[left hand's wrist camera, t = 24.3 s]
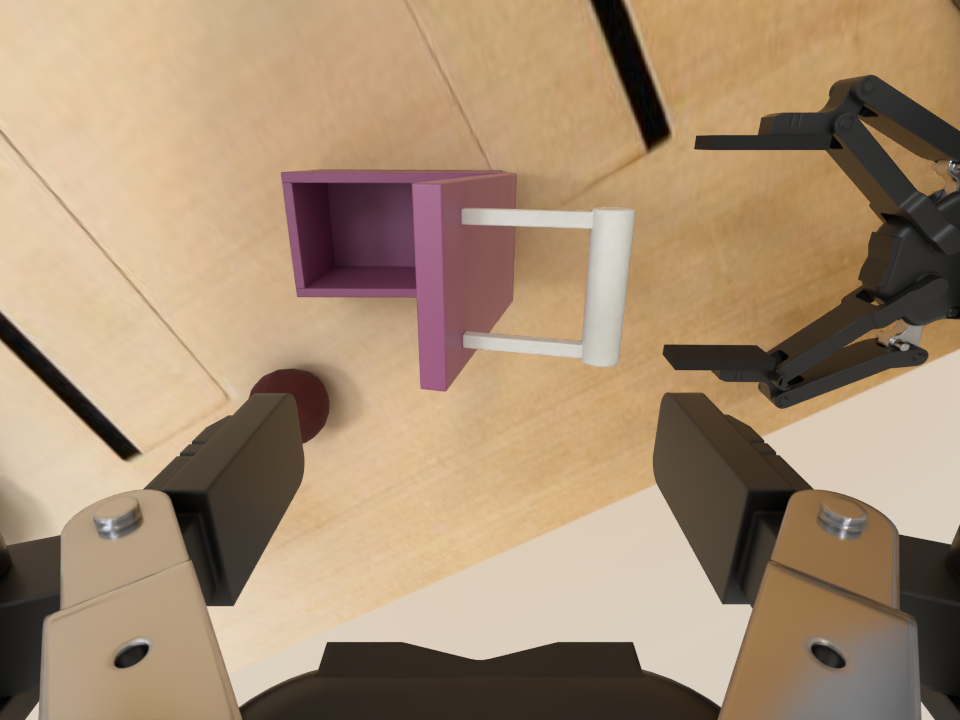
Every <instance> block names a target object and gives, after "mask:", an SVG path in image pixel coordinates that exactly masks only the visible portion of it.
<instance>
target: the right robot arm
mask: <svg viewBox="0 0 960 720" xmlns="http://www.w3.org/2000/svg"><path fill="white" fill-rule="evenodd" d="M954 2H955V3H956V4H957V6H958V7H959V8H960V0H954ZM829 97H830V99H829V101H828V102H827V104H826V105H825V107H824V108H823V109H822V110H821V111H819V112H817V113H775V114H769V115H767V116H765V117H762V118H761V122H760V128H759V133H758V135H707V136H696V141H695V148H694V149H702V150H826V151H827V152H828V153H829V155H830V156H831V157H832V158H833V159H834V160H835V162H836V163H837V164H838V165H839V166H840V167H841V169H842V170H843V171H844V172H845V173H846V174H847V176H848V177H849V178H850V179H851V180H852V181H853V183H854V184H855V185H856V186H857V187H858V188H859V190H860V191H861V192H862V193H863V194H864V195H865V197H866V198H867V199H868V200H869V201H870V205H869V206H870V208H871V209H872V210H873V211H874V212H875V214H876V215H877V216H878V217H879V218H880V219H881V221H882V222H883V224H882V225H881V227H880V228H879V229H878V231H877V232H872V234H871V237H870V241H869V247H868V257H867V259H866V261H865V263H864V264H863V266H862V268H861V271H860V274H859V278H858V280H861V281H862V286H860V287H859V288H857V289H856V290H854V291H853V292H851V293H850V294H848V295H847V296H845V297H844V298H843V299H842V300H841V304H840V305H839V306H837V307H836V308H834V309H833V310H831V311H830V312H828V313H827V314H825V315H824V316H822V317H820V318H819V319H817V320H816V321H814V322H813V323H811V324H810V325H808V326H807V327H805V328H803V329H802V330H800V331H799V332H797V333H796V334H794V335H793V336H791V337H790V338H788V339H786V340H785V341H783V342H782V343H780V344H779V345H777V346H776V347H774V348H772V349H771V350H769V351H768V352H765V351H763V350H762V349H761V348H759V347H758V346H757V345H664V349H663V355H664V357H665V358H666V359H667V360H668V362H669V363H670V364H671V365H672V367H673V368H674V369H675V370H711V371H712V372H713V373H714V374H715V375H716V376H717V377H718V378H719V379H721V380H723V381H726V382H734V381H735V382H760V383H759V385H758V389H759V391H760V392H761V393H762V394H764V395H765V396H766V397H767V398H768V399H769V400H770V401H771V402H772V403H773V404H774V405H775V406H776V407H778V408H781V409H783V408H787V407H790V406H792V405H795V404H798V403H800V402H803V401H806V400H808V399H811V398H813V397H816V396H819V395H821V394H824V393H827V392H829V391H832V390H835V389H837V388H840V387H842V386H845V385H848V384H850V383H853V382H856V381H858V380H861V379H863V378H866V377H869V376H871V375H874V374H877V373H879V372H882V371H885V370H887V369H890V368H899V367H910V366H918V365H921V364H923V363H924V362H925V361H926V360H927V358H928V352H927V351H926V350H924V349H922V348H920V347H919V343H920V338H921V334H922V330H923V326H924V325H927V324H929V323H932V322H934V321H937V320H940V319H960V131H959V130H957V129H956V128H954V127H953V126H951V125H950V124H948V123H947V122H945V121H943V120H942V119H940V118H939V117H937V116H936V115H934V114H933V113H931V112H930V111H928V110H927V109H925V108H924V107H922V106H921V105H919V104H918V103H916V102H915V101H913V100H911V99H910V98H908V97H907V96H905V95H904V94H902V93H901V92H899V91H898V90H896V89H895V88H893V87H892V86H890V85H889V84H887V83H886V82H884V81H883V80H881V79H879V78H878V77H876V76H874V75H868V76H861V77H855V78H850V79H845V80H839V81H837V82H836V83H834V84H833V86H832V87H831V89H830V92H829ZM858 118H859V119H860V120H862V121H864V122H865V123H867V124H868V125H870V126H871V127H873V128H875V129H876V130H878V131H879V132H881V133H883V134H884V135H886V136H887V137H889V138H890V139H892V140H894V141H895V142H897V143H898V144H900V145H901V146H903V147H905V148H906V149H908V150H909V151H911V152H912V153H914V154H916V155H918V156H919V157H921V158H924V159H927V160H932V161H935V162H934V163H933V164H932V169H933V170H936V173H937V174H938V175H940V176H942V177H943V178H944V179H945V182H946V185H945V188H944V189H941V190H938V191H936V192H934V193H932V194H931V195H929V196H926V195H925V194H923V193H921V192H919V191H917V190H916V188H915V187H914V186H913V185H912V184H911V182H910V181H909V180H908V179H907V177H906V176H905V175H904V174H903V173H902V171H901V170H900V169H899V168H898V166H897V165H896V164H895V163H894V162H893V160H892V159H891V158H890V157H889V155H888V154H887V153H886V152H885V151H884V149H883V148H882V147H881V146H880V144H879V143H878V142H877V141H876V140H875V138H874V137H873V136H872V135H871V133H870V132H869V131H868V130H867V129H866V127H865V126H864V125H863V124H862V122H861V121H860V120H859V119H858ZM873 301H876V302H877V303H878V304H879V305H878V306H876V305H873V304H870V303H872V302H873ZM896 320H898V323H897V325H896V326H895V327H894V328H893V329H891V330H889V331H886V332H883V331H880V332H878V333H877V334H876V338H872V339H867V340H863V341H860V342H857V343H854V344H852V345H849V346H847V347H844V346H846V345H848V344H849V343H851V342H853V341H854V340H856V339H857V338H859V337H861V336H862V335H864V334H865V333H867V332H869V331H870V330H872V329H878V328H884V327H886V326H888V325H890V324H891V323H893V322H895V321H896ZM843 347H844V348H843ZM841 348H842V349H841Z"/></svg>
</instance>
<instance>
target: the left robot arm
mask: <svg viewBox="0 0 960 720" xmlns="http://www.w3.org/2000/svg"><path fill="white" fill-rule="evenodd" d="M653 470H654V476H655V480H656V483H657V485H658V487H659V489H660V491H661V492H662V494H663V496H664V498H665V500H666V502H667V503H668V505H669V507H670V509H671V511H672V513H673V514H674V516H675V518H676V520H677V522H678V524H679V525H680V527H681V529H682V531H683V533H684V535H685V536H686V538H687V540H688V542H689V544H690V546H691V547H692V549H693V551H694V553H695V555H696V557H697V558H698V560H699V562H700V564H701V566H702V568H703V569H704V571H705V573H706V575H707V577H708V579H709V580H710V582H711V584H712V586H713V588H714V589H715V591H716V593H717V595H718V597H719V599H720V601H721V602H722V604H750V605H751V607H752V608H753V610H752V613H751V616H750V619H749V622H748V626H747V629H746V632H745V635H744V638H743V641H742V644H741V648H740V651H739V654H738V657H737V660H736V663H735V666H734V670H733V673H732V676H731V679H730V682H729V685H728V688H727V692H726V695H725V698H724V701H723V704H722V707H720V706H718V705H717V704H715V703H714V702H713V701H711V700H710V699H708V698H706V697H705V696H703V695H701V694H700V693H698V692H696V691H694V690H693V689H691V688H689V687H687V686H685V685H683V684H681V683H678V682H676V681H674V680H672V679H669V678H667V677H664V676H661V675H658V674H655V673H653V672H649V671H645V670H642V669H641V666H640V663H639V660H638V657H637V654H636V650H635V647H634V644H633V642H557V643H553V644H549V645H544V646H541V647H536V648H532V649H528V650H524V651H520V652H516V653H512V654H508V655H504V656H500V657H496V658H491V659H487V660H473V659H469V658H465V657H460V656H456V655H452V654H448V653H444V652H440V651H436V650H432V649H428V648H424V647H420V646H416V645H412V644H408V643H403V642H327V644H326V647H325V650H324V654H323V657H322V660H321V663H320V666H319V669H318V670H315V671H311V672H307V673H305V674H302V675H299V676H296V677H293V678H291V679H288V680H286V681H284V682H282V683H280V684H277V685H275V686H273V687H271V688H269V689H267V690H266V691H264V692H262V693H260V694H259V695H257V696H255V697H254V698H252V699H250V700H249V701H247V702H246V703H245V704H243V705H242V706H240V707H238V704H237V701H236V698H235V695H234V692H233V688H232V685H231V682H230V679H229V676H228V673H227V670H226V666H225V663H224V660H223V657H222V654H221V651H220V648H219V644H218V641H217V638H216V635H215V632H214V629H213V626H212V622H211V619H210V616H209V613H208V610H207V607H206V606H234V604H235V602H236V601H237V599H238V597H239V595H240V593H241V592H242V590H243V588H244V586H245V584H246V583H247V581H248V579H249V577H250V575H251V573H252V572H253V570H254V568H255V566H256V564H257V563H258V561H259V559H260V557H261V555H262V554H263V552H264V550H265V548H266V546H267V545H268V543H269V541H270V539H271V537H272V535H273V534H274V532H275V530H276V528H277V526H278V525H279V523H280V521H281V519H282V517H283V516H284V514H285V512H286V510H287V508H288V507H289V505H290V503H291V501H292V499H293V497H294V496H295V494H296V492H297V490H298V488H299V487H300V484H301V482H302V478H303V474H304V452H303V445H302V438H301V431H300V425H299V418H298V411H297V405H296V401H295V398H294V396H293V395H292V394H290V393H255V394H253V395H252V396H251V397H250V398H249V399H248V400H247V401H246V402H245V403H244V404H243V405H242V406H241V407H240V408H239V409H238V410H237V412H236V413H235V414H234V415H233V416H227V417H225V418H223V419H221V420H219V421H218V422H216V423H214V424H212V425H210V426H208V427H206V428H205V429H204V430H203V431H202V432H201V433H200V434H199V435H198V436H197V437H196V438H195V439H194V440H193V441H192V444H189V445H188V446H187V447H186V448H185V449H184V450H183V451H182V452H181V453H180V456H177V457H176V458H175V459H174V460H173V461H172V462H171V463H170V464H169V465H168V466H167V467H166V468H165V469H164V470H162V471H161V472H160V473H159V474H158V475H157V476H156V477H155V478H154V479H153V480H152V481H151V482H150V483H149V484H148V485H147V486H146V487H145V488H144V489H143V490H134V491H129V492H124V493H120V494H116V495H113V496H110V497H107V498H105V499H102V500H100V501H98V502H96V503H94V504H92V505H90V506H88V507H86V508H85V509H83V510H82V511H80V512H79V513H77V514H76V515H75V516H74V517H73V518H71V519H70V520H69V521H68V523H67V524H66V525H65V526H64V528H63V530H62V533H61V535H59V536H54V537H49V538H44V539H39V540H34V541H29V542H24V543H19V544H13V545H8V546H6V544H5V542H4V539H3V537H2V535H1V532H0V720H25V719H26V718H27V716H28V715H29V714H30V712H31V711H32V710H33V708H34V707H35V706H36V704H37V703H38V702H39V720H921V702H922V703H923V704H924V706H925V707H926V708H927V710H928V711H929V712H930V714H931V715H932V716H933V718H934V719H935V720H960V525H959V528H958V530H957V533H956V535H955V537H954V540H953V542H952V544H951V545H950V544H945V543H940V542H935V541H930V540H925V539H920V538H914V537H909V536H904V535H899V533H898V530H897V528H896V526H895V525H894V524H893V523H892V521H891V520H890V519H889V518H887V517H886V516H885V515H884V514H883V513H881V512H880V511H878V510H877V509H875V508H873V507H872V506H870V505H868V504H866V503H864V502H862V501H860V500H858V499H855V498H853V497H850V496H847V495H844V494H840V493H836V492H831V491H826V490H814V489H813V488H812V487H811V486H810V485H809V484H808V483H807V482H806V481H805V480H804V479H803V478H802V477H801V476H800V475H799V474H798V473H797V472H796V471H795V470H794V469H793V468H792V467H791V466H790V465H789V464H788V463H787V462H786V461H785V460H783V459H782V458H781V457H780V456H779V455H776V452H775V451H774V450H773V449H772V448H771V447H770V446H769V445H768V444H767V443H764V440H763V439H762V438H761V437H760V436H759V435H758V434H757V433H756V432H755V431H754V430H753V429H752V428H751V427H750V426H748V425H746V424H744V423H743V422H741V421H739V420H737V419H735V418H733V417H732V416H730V415H724V414H723V413H722V412H721V411H720V410H719V409H718V408H717V407H716V406H715V405H714V404H713V403H712V402H711V401H710V400H709V399H708V397H707V396H706V395H705V394H703V393H665V394H664V396H663V398H662V401H661V405H660V412H659V419H658V426H657V433H656V440H655V447H654V453H653Z"/></svg>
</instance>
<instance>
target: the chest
mask: <svg viewBox="0 0 960 720" xmlns="http://www.w3.org/2000/svg"><path fill="white" fill-rule="evenodd" d="M499 173H505V172H503V171H502V170H310V171H294V172H281V178H282V185H283V193H284V200H285V208H286V216H287V223H288V231H289V239H290V246H291V254H292V262H293V269H294V277H295V285H296V291H297V297H417V292H416V268H415V244H414V221H413V197H412V184H413V183H418V182H427V181H436V180H445V179H454V178H463V177H472V176H481V175H490V174H499ZM506 174H507V173H506Z"/></svg>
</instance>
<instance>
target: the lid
mask: <svg viewBox="0 0 960 720" xmlns="http://www.w3.org/2000/svg"><path fill="white" fill-rule="evenodd" d="M516 177H517V175H516V174H506V173H499V174H490V175H481V176H472V177H463V178H454V179H445V180H436V181H427V182H418V183H413V184H412V197H413V221H414V244H415V268H416V292H417V315H418V339H419V362H420V386H421V389H427V390H436V391H447V389H448V388H449V387H450V385H451V384H452V383H453V381H454V380H455V379H456V377H457V376H458V375H459V373H460V372H461V370H462V369H463V368H464V366H465V365H466V364H467V362H468V361H469V360H470V358H471V357H472V355H473V354H474V353H475V351H476V350H477V349H483V350H495V351H506V352H517V353H528V354H539V355H550V356H562V357H573V358H581V361H582V362H584V363H585V364H588V365H591V366H596V367H611V366H614V365H616V364H617V363H618V362H619V355H620V346H621V337H622V328H623V319H624V310H625V301H626V292H627V283H628V274H629V265H630V256H631V247H632V238H633V229H634V220H635V210H634V209H632V208H623V207H597V208H594V209H593V210H592V211H572V210H534V209H516ZM515 226H522V227H552V228H582V229H591V233H590V246H589V258H588V270H587V282H586V295H585V307H584V319H583V331H582V341H577V340H565V339H553V338H541V337H529V336H516V335H504V334H492V333H489V332H490V331H491V330H492V328H493V327H494V326H495V324H496V323H497V321H498V320H499V319H500V317H501V316H502V315H503V313H504V312H505V311H506V309H507V308H508V306H509V305H510V304H511V302H512V301H513V283H514V247H515Z"/></svg>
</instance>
